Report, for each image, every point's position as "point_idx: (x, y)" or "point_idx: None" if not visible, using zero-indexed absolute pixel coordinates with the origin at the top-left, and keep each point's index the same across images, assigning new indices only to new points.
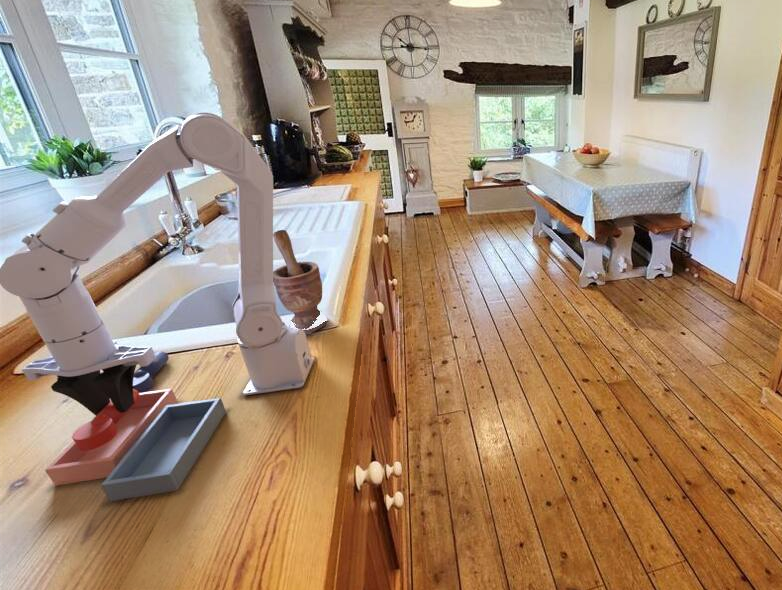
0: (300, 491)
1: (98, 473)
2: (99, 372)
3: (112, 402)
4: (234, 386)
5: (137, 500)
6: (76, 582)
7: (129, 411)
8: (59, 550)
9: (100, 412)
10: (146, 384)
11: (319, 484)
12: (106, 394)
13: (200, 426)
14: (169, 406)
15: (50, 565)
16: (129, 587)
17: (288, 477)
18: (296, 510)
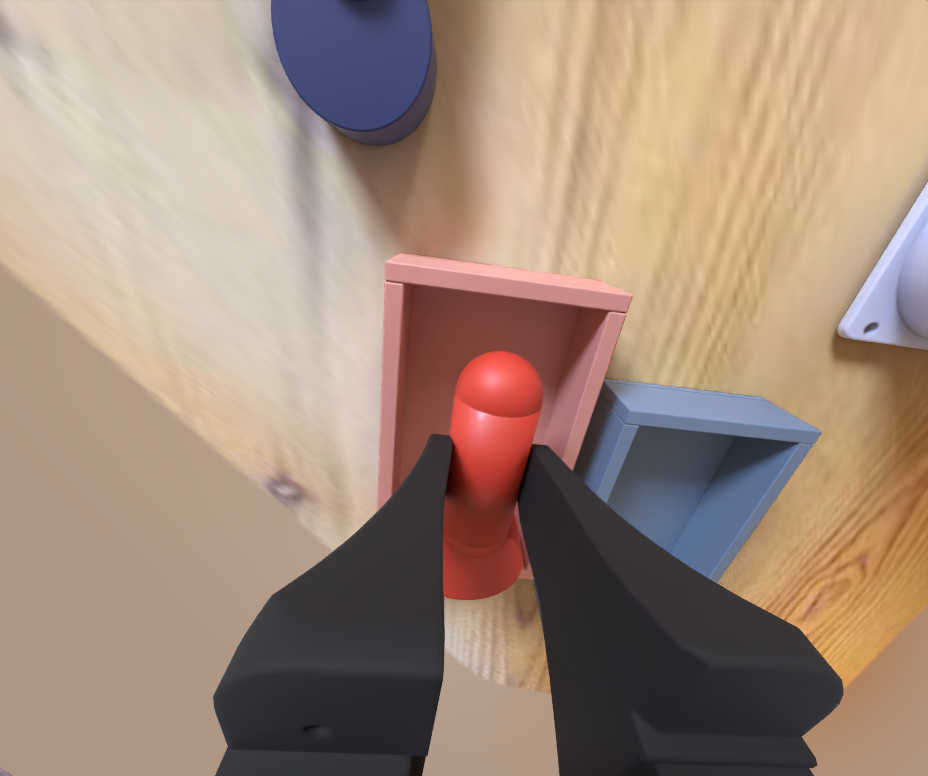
0: (847, 633)
1: None
2: (440, 563)
3: (531, 563)
4: (812, 245)
5: None
6: (543, 666)
7: (431, 288)
8: (491, 630)
9: (467, 529)
10: (428, 89)
11: (880, 630)
12: (544, 632)
13: (745, 539)
14: (644, 424)
15: (492, 644)
16: None
17: (840, 609)
18: (829, 653)
